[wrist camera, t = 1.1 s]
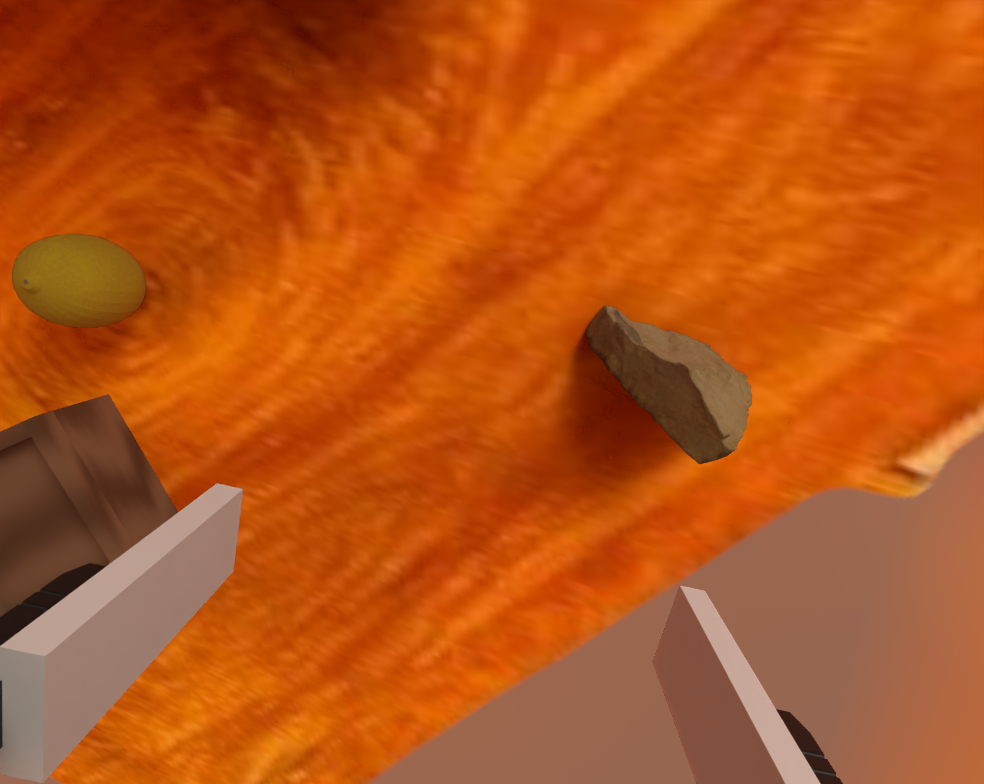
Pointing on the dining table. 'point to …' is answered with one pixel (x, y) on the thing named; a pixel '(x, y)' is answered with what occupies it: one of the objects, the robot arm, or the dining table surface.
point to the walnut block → (72, 496)
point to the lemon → (79, 280)
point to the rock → (675, 383)
